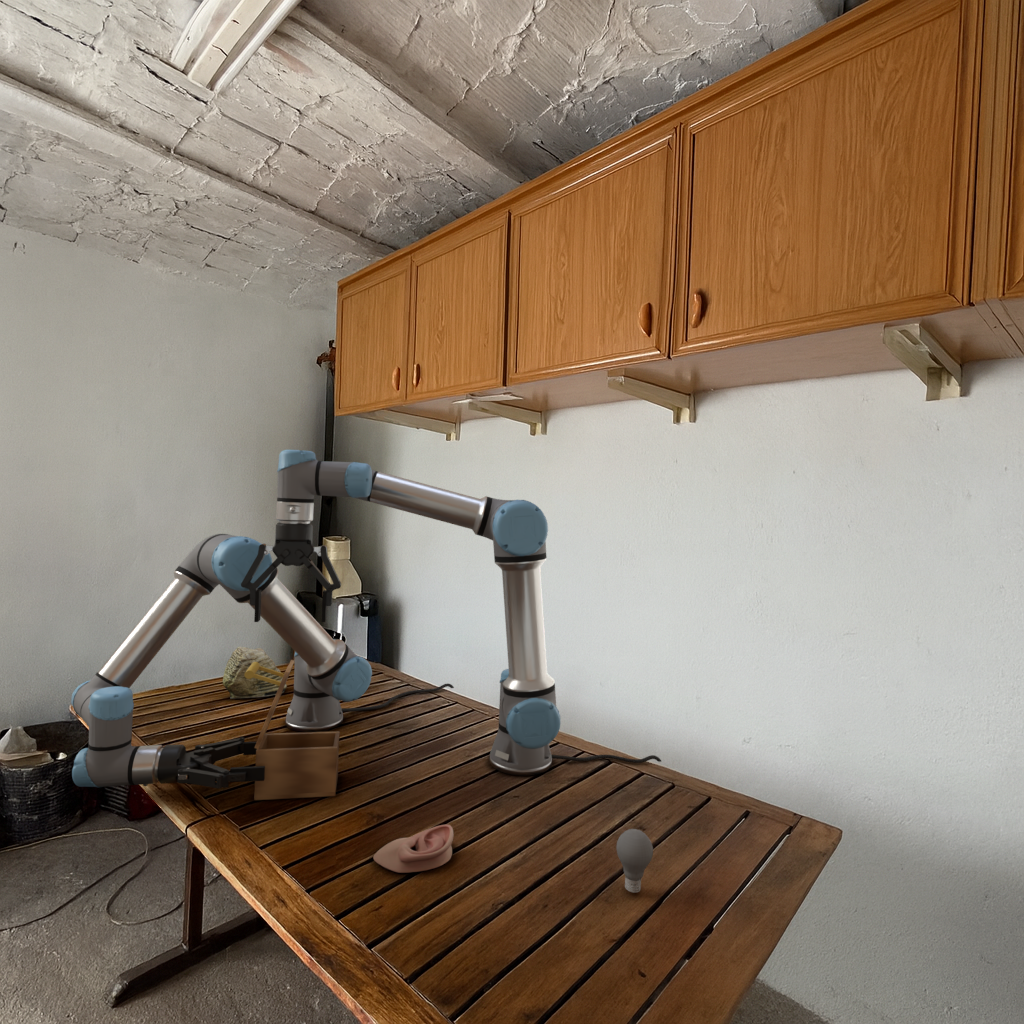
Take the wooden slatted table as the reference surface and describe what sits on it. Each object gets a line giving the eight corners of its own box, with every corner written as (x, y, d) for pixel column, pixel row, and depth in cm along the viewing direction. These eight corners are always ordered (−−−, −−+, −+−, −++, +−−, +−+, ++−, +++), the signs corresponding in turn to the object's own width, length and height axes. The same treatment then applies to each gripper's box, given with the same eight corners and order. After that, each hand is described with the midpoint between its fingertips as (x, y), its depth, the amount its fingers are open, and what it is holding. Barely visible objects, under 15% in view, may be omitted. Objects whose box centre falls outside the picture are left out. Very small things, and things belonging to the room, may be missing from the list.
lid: (294, 660, 141) (258, 648, 139) (289, 672, 132) (249, 659, 130) (265, 732, 140) (228, 721, 139) (258, 749, 131) (218, 737, 129)
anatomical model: (366, 844, 109) (392, 812, 120) (365, 867, 109) (391, 833, 120) (440, 856, 106) (459, 823, 117) (439, 880, 106) (458, 844, 117)
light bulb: (610, 879, 108) (613, 822, 108) (644, 879, 109) (647, 822, 109) (619, 902, 102) (622, 840, 102) (655, 901, 103) (658, 840, 103)
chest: (337, 776, 144) (339, 731, 144) (335, 796, 134) (337, 747, 134) (262, 779, 140) (263, 733, 140) (254, 800, 131) (256, 750, 131)
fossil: (218, 695, 195) (220, 647, 195) (278, 685, 208) (279, 640, 207) (228, 703, 189) (230, 653, 188) (289, 692, 201) (290, 645, 201)
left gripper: (178, 757, 144) (277, 753, 148) (139, 811, 119) (258, 804, 124) (180, 725, 144) (278, 722, 148) (140, 772, 119) (260, 766, 124)
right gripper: (228, 520, 129) (224, 624, 130) (353, 525, 135) (350, 624, 135) (236, 519, 137) (232, 617, 137) (355, 523, 142) (351, 617, 142)
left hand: (270, 759), depth 136 cm, fingers open, 13 cm apart
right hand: (290, 621), depth 136 cm, fingers open, 13 cm apart
